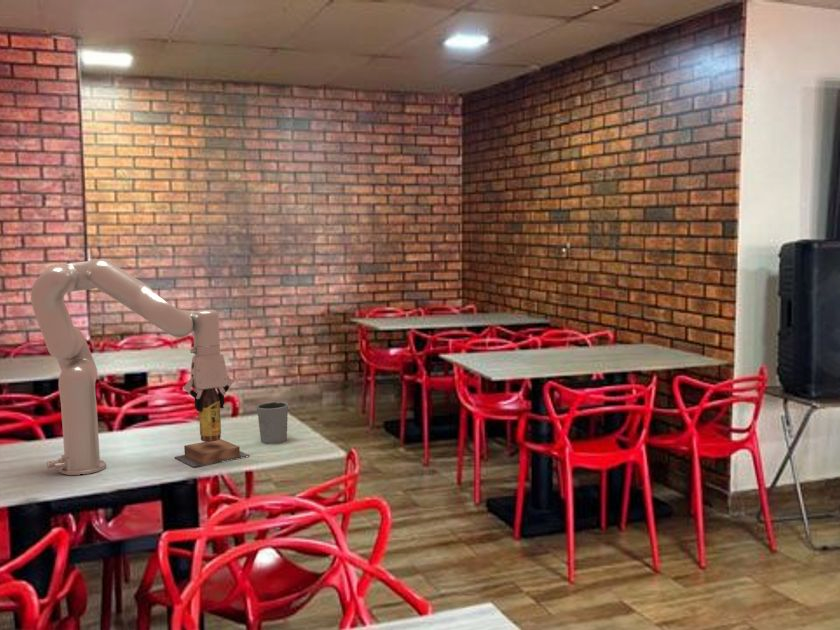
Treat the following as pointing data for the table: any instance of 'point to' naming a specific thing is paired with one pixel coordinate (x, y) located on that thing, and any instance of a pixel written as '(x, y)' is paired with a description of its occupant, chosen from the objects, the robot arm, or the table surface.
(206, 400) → the sauce bottle
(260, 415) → the grey cup
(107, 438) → the table surface
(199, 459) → the brown block with base
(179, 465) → the table surface
